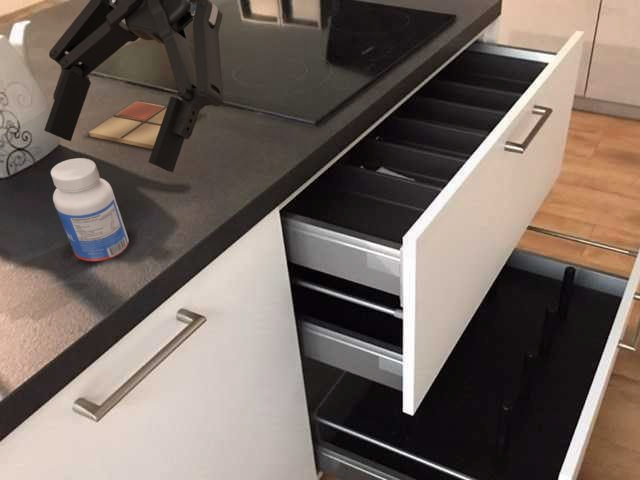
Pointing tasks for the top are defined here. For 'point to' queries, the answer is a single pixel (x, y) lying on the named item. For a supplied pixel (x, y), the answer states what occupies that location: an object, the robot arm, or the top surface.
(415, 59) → the top surface
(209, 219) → the top surface
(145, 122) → the grid board
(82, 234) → the pill bottle
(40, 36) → the top surface
